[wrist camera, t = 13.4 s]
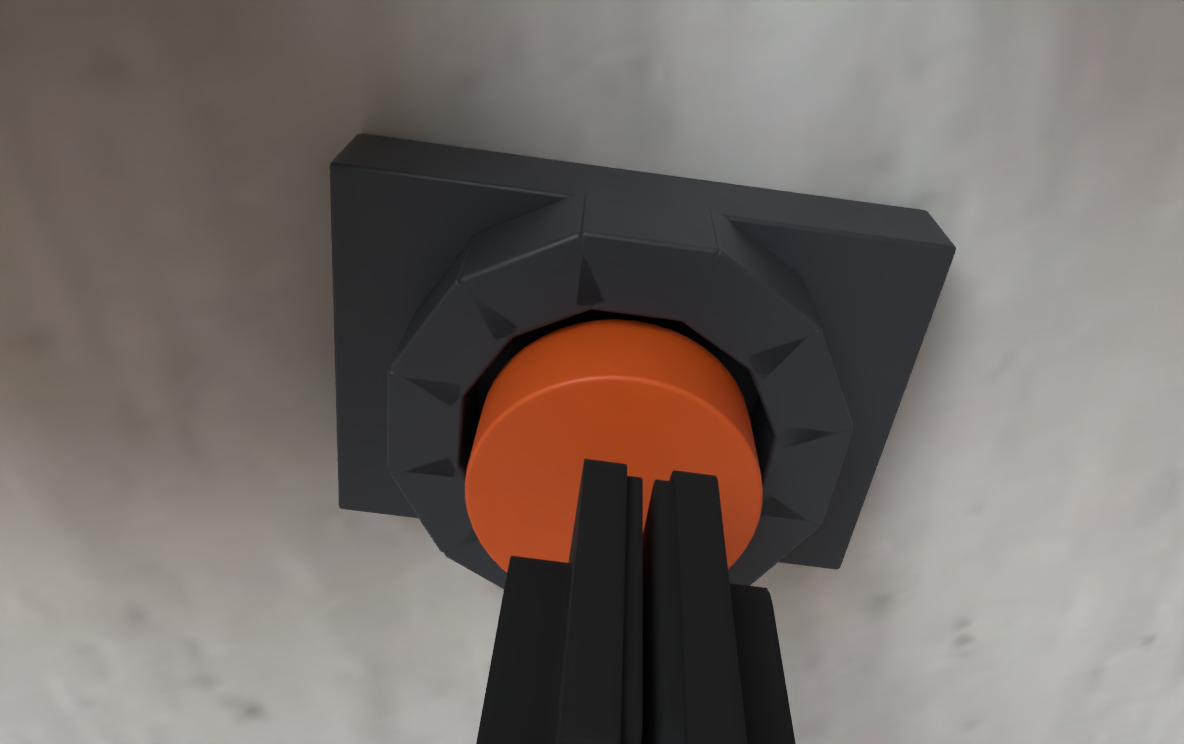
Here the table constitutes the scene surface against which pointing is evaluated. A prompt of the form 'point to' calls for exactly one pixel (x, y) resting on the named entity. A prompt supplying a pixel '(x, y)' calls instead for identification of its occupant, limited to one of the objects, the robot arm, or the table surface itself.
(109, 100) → the table surface
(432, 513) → the button block
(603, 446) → the button
